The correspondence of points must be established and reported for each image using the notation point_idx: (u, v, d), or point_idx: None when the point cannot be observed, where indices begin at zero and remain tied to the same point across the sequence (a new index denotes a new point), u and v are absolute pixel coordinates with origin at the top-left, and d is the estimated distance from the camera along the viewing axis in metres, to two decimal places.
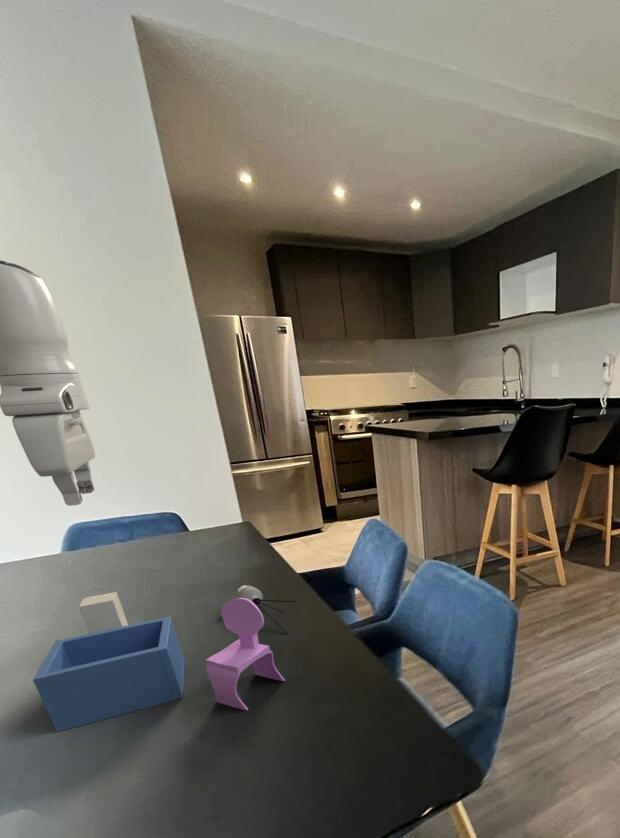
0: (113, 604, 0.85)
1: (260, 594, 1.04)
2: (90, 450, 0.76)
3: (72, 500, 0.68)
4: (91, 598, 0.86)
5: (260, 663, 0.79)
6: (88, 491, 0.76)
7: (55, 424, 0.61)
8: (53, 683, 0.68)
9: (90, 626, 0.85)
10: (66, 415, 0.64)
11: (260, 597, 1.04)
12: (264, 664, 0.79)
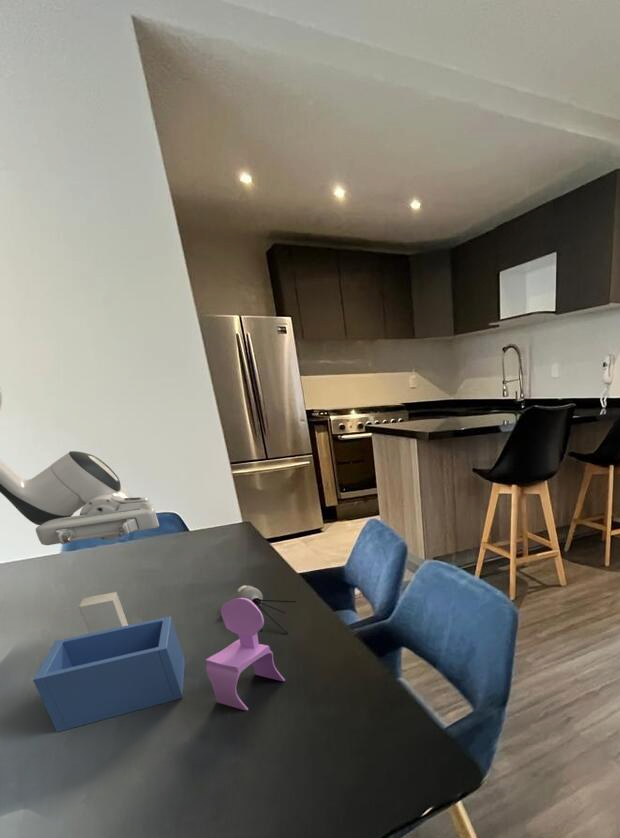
0: (113, 604, 0.85)
1: (260, 594, 1.04)
2: None
3: (127, 529, 0.95)
4: (91, 598, 0.86)
5: (260, 663, 0.79)
6: (69, 540, 0.91)
7: None
8: (53, 683, 0.68)
9: (90, 626, 0.85)
10: None
11: (260, 597, 1.04)
12: (264, 664, 0.79)
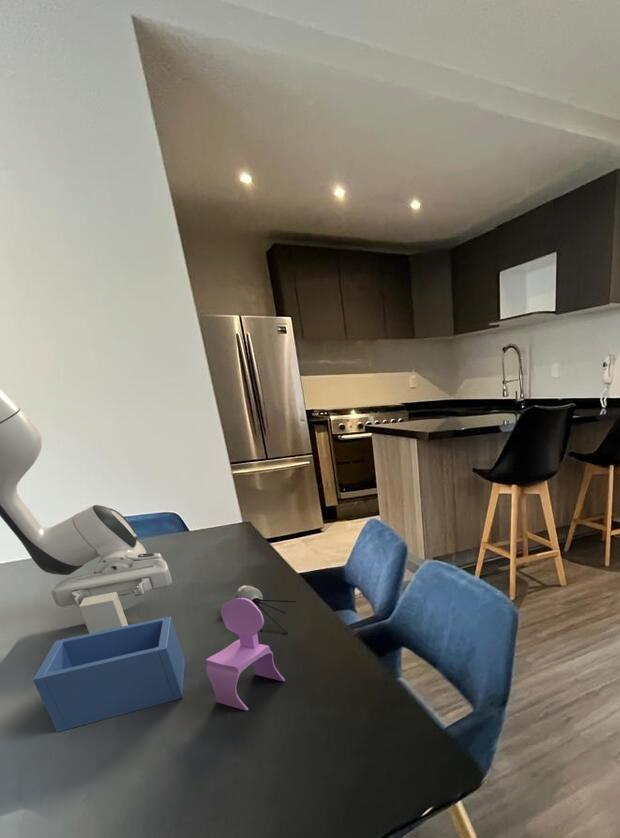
0: (113, 604, 0.85)
1: (260, 594, 1.04)
2: None
3: (142, 589, 0.96)
4: (91, 598, 0.86)
5: (260, 663, 0.79)
6: None
7: None
8: (53, 683, 0.68)
9: (90, 626, 0.85)
10: None
11: (260, 597, 1.04)
12: (264, 664, 0.79)
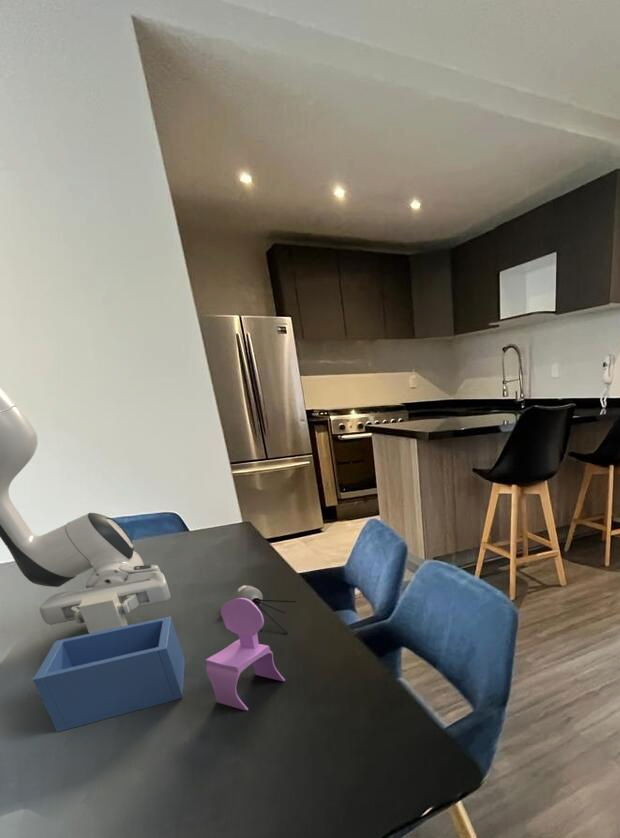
0: (113, 604, 0.85)
1: (260, 594, 1.04)
2: None
3: (128, 608, 0.88)
4: (91, 598, 0.86)
5: (260, 663, 0.79)
6: None
7: None
8: (53, 683, 0.68)
9: (90, 626, 0.85)
10: None
11: (260, 597, 1.04)
12: (264, 664, 0.79)
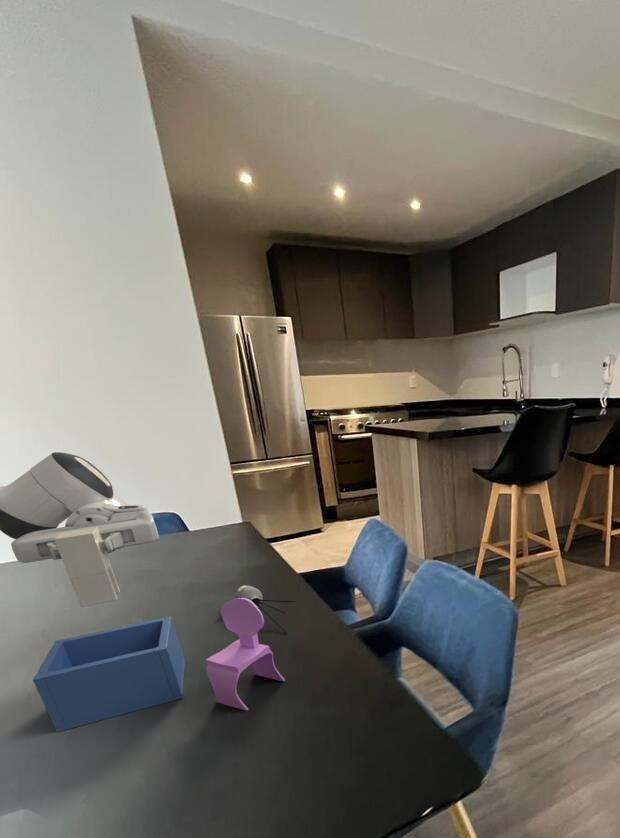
0: (93, 538, 0.76)
1: (260, 594, 1.04)
2: None
3: (110, 544, 0.79)
4: (68, 532, 0.77)
5: (260, 663, 0.79)
6: None
7: None
8: (53, 683, 0.68)
9: (67, 562, 0.76)
10: None
11: (260, 597, 1.04)
12: (264, 664, 0.79)
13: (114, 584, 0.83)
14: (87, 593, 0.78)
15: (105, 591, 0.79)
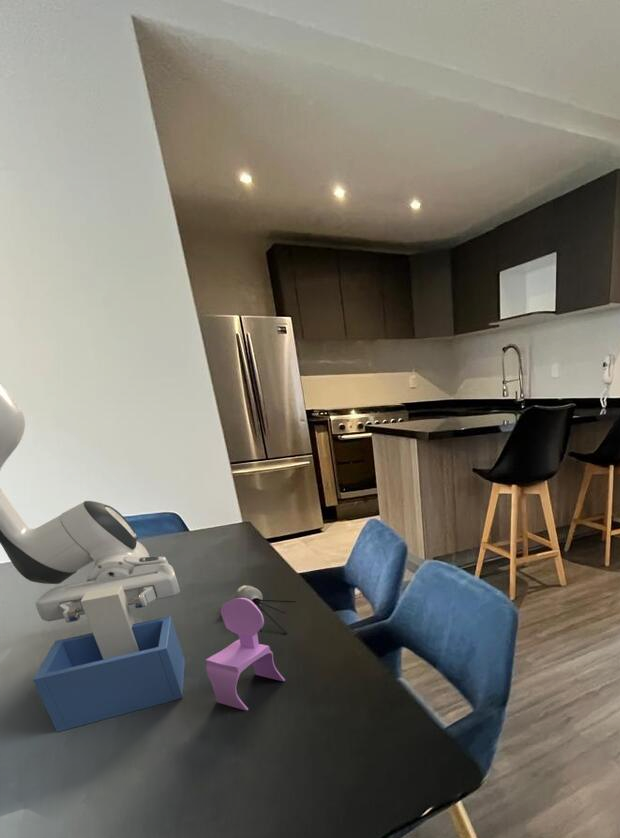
0: (118, 599, 0.77)
1: (260, 594, 1.04)
2: None
3: (145, 600, 0.80)
4: (94, 592, 0.78)
5: (260, 663, 0.79)
6: (76, 617, 0.77)
7: None
8: (53, 683, 0.68)
9: (93, 623, 0.77)
10: None
11: (260, 597, 1.04)
12: (264, 664, 0.79)
13: None
14: (111, 652, 0.79)
15: (129, 649, 0.80)
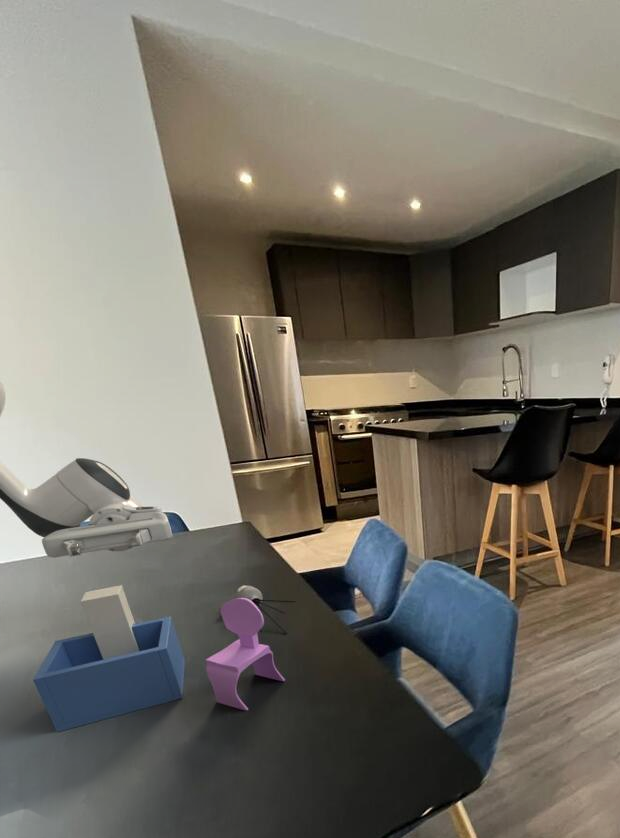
0: (118, 599, 0.77)
1: (260, 594, 1.04)
2: None
3: (140, 540, 0.89)
4: (94, 592, 0.78)
5: (260, 663, 0.79)
6: (78, 552, 0.85)
7: None
8: (53, 683, 0.68)
9: (93, 623, 0.77)
10: None
11: (260, 597, 1.04)
12: (264, 664, 0.79)
13: None
14: (111, 652, 0.79)
15: (129, 649, 0.80)
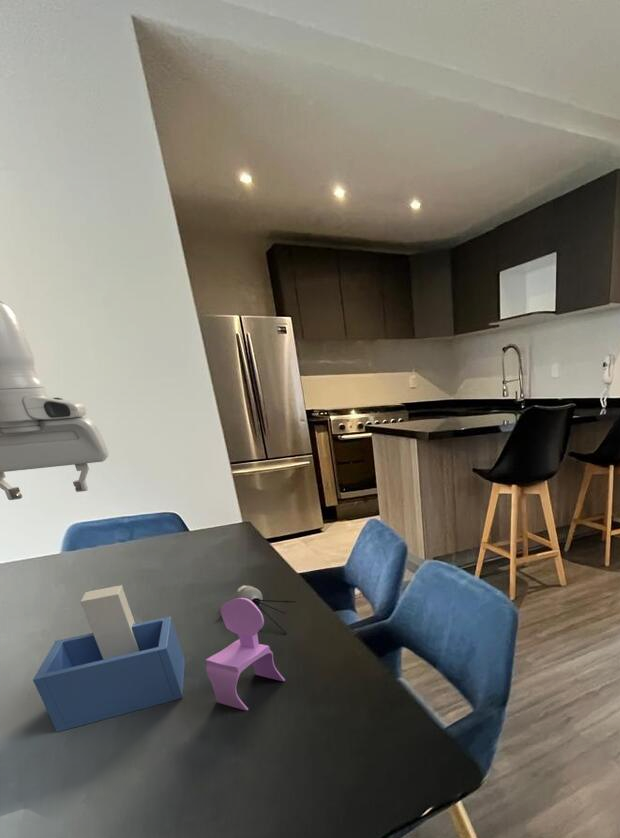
0: (118, 599, 0.77)
1: (260, 594, 1.04)
2: None
3: (86, 486, 0.85)
4: (94, 592, 0.78)
5: (260, 663, 0.79)
6: (20, 496, 0.82)
7: (94, 423, 0.85)
8: (53, 683, 0.68)
9: (93, 623, 0.77)
10: None
11: (260, 597, 1.04)
12: (264, 664, 0.79)
13: None
14: (111, 652, 0.79)
15: (129, 649, 0.80)
